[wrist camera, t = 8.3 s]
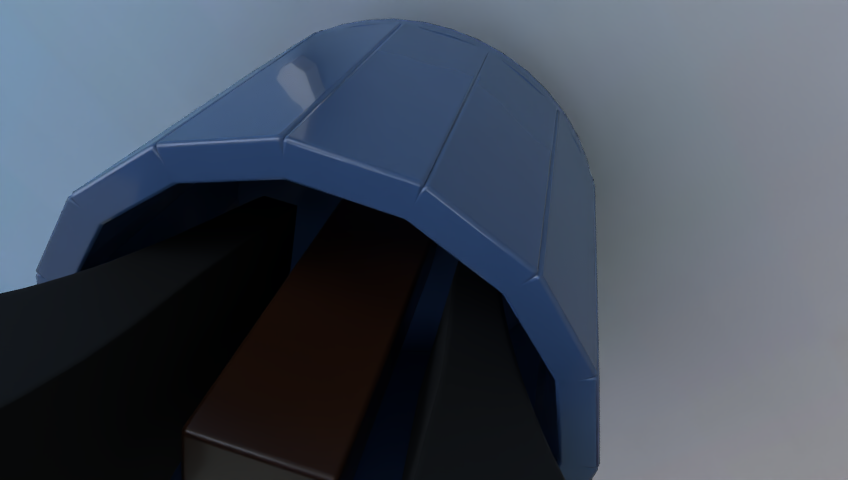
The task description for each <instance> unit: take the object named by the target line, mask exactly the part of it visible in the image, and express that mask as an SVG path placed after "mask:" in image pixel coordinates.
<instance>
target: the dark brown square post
mask: <svg viewBox="0 0 848 480" xmlns="http://www.w3.org/2000/svg"><path fill="white" fill-rule="evenodd" d="M436 247H437V243H435V242H434V241H433V240H431V239H430V238H429V237H427V236H426V235H425V234H423V233H422V232H421V231H420V230H418V229H417V228H416V227H414V226H413V225H412V224H410V223H409V222H408V221H406V220H405V219H402V218H399V217H396V216H393V215H390V214H387V213H384V212H381V211H378V210H375V209H372V208H369V207H366V206H363V205H360V204H357V203H354V202H351V201H348V200H345V199H342V200H341V201H340V202H339V204H338V205H337V207H336V208H335V210H334V211H333V212H332V214H331V215H330V217H329V218H328V220H327V221H326V223H325V224H324V225H323V227H322V228H321V230H320V231H319V233H318V234H317V235H316V237H315V238H314V240H313V241H312V243H311V244H310V245H309V247H308V248H307V250H306V251H305V253H304V254H303V256H302V257H301V258H300V260H299V261H298V263H297V264H296V266H295V267H294V268H293V270H292V271H291V273H290V274H289V276H288V277H287V279H286V280H285V281H284V283H283V284H282V286H281V287H280V289H279V290H278V291H277V293H276V294H275V296H274V297H273V299H272V300H271V302H270V303H269V304H268V306H267V307H266V309H265V310H264V312H263V313H262V314H261V316H260V317H259V319H258V320H257V322H256V323H255V325H254V326H253V327H252V329H251V330H250V332H249V333H248V335H247V336H246V337H245V339H244V340H243V342H242V343H241V345H240V346H239V347H238V349H237V350H236V352H235V353H234V355H233V356H232V358H231V359H230V360H229V362H228V363H227V365H226V366H225V368H224V369H223V370H222V372H221V373H220V375H219V376H218V378H217V379H216V381H215V382H214V383H213V385H212V386H211V388H210V389H209V391H208V392H207V393H206V395H205V396H204V398H203V399H202V401H201V402H200V404H199V405H198V406H197V408H196V409H195V411H194V412H193V414H192V415H191V416H190V418H189V419H188V421H187V422H186V424H185V425H184V426H183V428H182V430H181V477H182V480H353V478H354V475H355V472H356V470H357V467H358V464H359V462H360V459H361V456H362V453H363V451H364V448H365V445H366V443H367V440H368V437H369V435H370V432H371V429H372V426H373V424H374V421H375V418H376V416H377V413H378V410H379V408H380V405H381V402H382V399H383V397H384V394H385V391H386V389H387V386H388V383H389V380H390V378H391V375H392V372H393V370H394V367H395V364H396V362H397V359H398V356H399V353H400V351H401V348H402V345H403V343H404V340H405V337H406V335H407V332H408V329H409V326H410V324H411V321H412V318H413V316H414V313H415V310H416V308H417V305H418V302H419V299H420V297H421V294H422V291H423V289H424V286H425V283H426V280H427V278H428V275H429V272H430V270H431V266H432V262H433V258H434V255H435V251H436Z"/></svg>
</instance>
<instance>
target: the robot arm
mask: <svg viewBox="0 0 848 480" xmlns="http://www.w3.org/2000/svg"><path fill="white" fill-rule="evenodd" d="M296 215H297V205H294V204H290V203H287V202H284V201H280V200H277V199H274V198H270V197H267V196H262V197H259V198H257V199H254V200H252V201H250V202H248V203H245V204H243V205H241V206H239V207H237V208H235V209H232V210H230V211H228V212H226V213H224V214H222V215H219V216H217V217H215V218H213V219H211V220H209V221H206V222H204V223H202V224H200V225H197V226H195V227H193V228H191V229H188V230H186V231H184V232H182V233H179V234H177V235H175V236H173V237H170V238H168V239H166V240H163V241H161V242H158V243H156V244H153V245H151V246H148V247H145V248H143V249H140V250H138V251H135V252H133V253H130V254H127V255H125V256H122V257H120V258H117V259H115V260H112V261H110V262H107V263H104V264H101V265H98V266H95V267H93V268H89V269H86V270H83V271H80V272H77V273H74V274H71V275H68V276H64V277H61V278H57V279H54V280H51V281H47V282H44V283H41V284H37V285H34V286H30V287H26V288H23V289H18V290H14V291H10V292H6V293H1V294H0V480H170V479H171V477H172V475H173V473H174V472H175V470H176V468H177V467H178V465H179V463H180V462H181V430H182V428H183V426H184V425H185V424H186V422H187V421H188V419H189V418H190V416H191V415H192V414H193V412H194V411H195V409H196V408H197V406H198V405H199V404H200V402H201V401H202V399H203V398H204V396H205V395H206V393H207V392H208V391H209V389H210V388H211V386H212V385H213V383H214V382H215V381H216V379H217V378H218V376H219V375H220V373H221V372H222V370H223V369H224V368H225V366H226V365H227V363H228V362H229V360H230V359H231V358H232V356H233V355H234V353H235V352H236V350H237V349H238V347H239V346H240V345H241V343H242V342H243V340H244V339H245V337H246V336H247V335H248V333H249V332H250V330H251V329H252V327H253V326H254V325H255V323H256V322H257V320H258V319H259V317H260V316H261V314H262V313H263V312H264V310H265V309H266V307H267V306H268V304H269V303H270V302H271V300H272V299H273V297H274V296H275V294H276V293H277V291H278V290H279V289H280V287H281V286H282V284H283V283H284V281H285V280H286V279H287V277H288V276H289V274H290V269H291V260H292V251H293V242H294V233H295V224H296ZM402 480H565V478H564V476H563V474H562V472H561V470H560V468H559V466H558V464H557V462H556V460H555V458H554V456H553V454H552V452H551V449H550V447H549V445H548V443H547V441H546V438H545V436H544V434H543V432H542V429H541V427H540V425H539V422H538V420H537V417H536V415H535V412H534V410H533V407H532V404H531V402H530V399H529V396H528V393H527V390H526V388H525V385H524V382H523V379H522V376H521V373H520V370H519V366H518V363H517V360H516V356H515V353H514V349H513V345H512V342H511V338H510V334H509V330H508V326H507V322H506V317H505V312H504V307H503V301H502V294H501V292H499V291H498V290H497V289H495V288H494V287H493V286H491V285H490V284H489V283H487V282H486V281H485V280H484V279H482V278H481V277H480V276H478V275H477V274H476V273H474V272H473V271H472V270H471V269H469V268H468V267H467V266H465V265H464V264H463V263H461V262H460V261H458V264H457V267H456V270H455V274H454V277H453V280H452V283H451V287H450V290H449V294H448V297H447V300H446V304H445V307H444V310H443V314H442V317H441V320H440V324H439V327H438V330H437V334H436V337H435V341H434V344H433V347H432V351H431V354H430V357H429V361H428V364H427V367H426V371H425V374H424V377H423V381H422V384H421V388H420V391H419V395H418V400H417V405H416V410H415V415H414V420H413V425H412V430H411V435H410V440H409V445H408V451H407V456H406V461H405V466H404V471H403V476H402Z"/></svg>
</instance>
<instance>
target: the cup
mask: <svg viewBox="0 0 848 480" xmlns="http://www.w3.org/2000/svg"><path fill="white" fill-rule="evenodd" d="M262 196H267V197H270V198H274V199H277V200H280V201H284V202H287V203H290V204H294V205H297V215H296V224H295V233H294V242H293V251H292V260H291V269H290V273H291V271H292V270H293V268H294V267H295V266H296V264H297V263H298V261H299V260H300V258H301V257H302V256H303V254H304V253H305V251H306V250H307V248H308V247H309V245H310V244H311V243H312V241H313V240H314V238H315V237H316V235H317V234H318V233H319V231H320V230H321V228H322V227H323V225H324V224H325V223H326V221H327V220H328V218H329V217H330V215H331V214H332V212H333V211H334V210H335V208H336V207H337V205H338V204H339V202H340V201H341V200H342V199H345V200H348V201H351V202H354V203H357V204H360V205H363V206H366V207H369V208H372V209H375V210H378V211H381V212H384V213H387V214H390V215H393V216H396V217H399V218H402V219H405V220H406V221H408V222H409V223H410V224H412V225H413V226H414V227H416V228H417V229H418V230H420V231H421V232H422V233H423V234H425V235H426V236H427V237H429V238H430V239H431V240H433V241H434V242H435V243H437V247H436V251H435V255H434V258H433V262H432V266H431V270H430V272H429V275H428V278H427V280H426V283H425V286H424V289H423V291H422V294H421V297H420V299H419V302H418V305H417V308H416V310H415V313H414V316H413V318H412V321H411V324H410V326H409V329H408V332H407V335H406V337H405V340H404V343H403V345H402V348H401V351H400V353H399V356H398V359H397V362H396V364H395V367H394V370H393V372H392V375H391V378H390V380H389V383H388V386H387V389H386V391H385V394H384V397H383V399H382V402H381V405H380V408H379V410H378V413H377V416H376V418H375V421H374V424H373V426H372V429H371V432H370V435H369V437H368V440H367V443H366V445H365V448H364V451H363V453H362V456H361V459H360V462H359V464H358V467H357V470H356V472H355V475H354V478H353V480H402V476H403V471H404V466H405V461H406V456H407V451H408V445H409V440H410V435H411V430H412V425H413V420H414V415H415V410H416V405H417V400H418V395H419V391H420V388H421V384H422V381H423V377H424V374H425V371H426V367H427V364H428V361H429V357H430V354H431V351H432V347H433V344H434V341H435V337H436V334H437V330H438V327H439V324H440V320H441V317H442V314H443V310H444V307H445V304H446V300H447V297H448V294H449V290H450V287H451V283H452V280H453V277H454V274H455V270H456V267H457V264H458V261H460V262H461V263H463V264H464V265H465V266H467V267H468V268H469V269H471V270H472V271H473V272H474V273H476V274H477V275H478V276H480V277H481V278H482V279H484V280H485V281H486V282H487V283H489V284H490V285H491V286H493V287H494V288H495V289H497V290H498V291H499V292H501V294H502V301H503V307H504V312H505V317H506V322H507V326H508V330H509V334H510V338H511V342H512V345H513V349H514V353H515V356H516V360H517V363H518V366H519V370H520V373H521V376H522V379H523V382H524V385H525V388H526V390H527V393H528V396H529V399H530V402H531V404H532V407H533V410H534V412H535V415H536V417H537V420H538V422H539V425H540V427H541V429H542V432H543V434H544V436H545V438H546V441H547V443H548V445H549V447H550V449H551V452H552V454H553V456H554V458H555V460H556V462H557V464H558V466H559V468H560V470H561V472H562V474H563V476H564V478H565V480H591V479H592V478H593V476H594V475H595V473H596V472H597V470H598V466H599V464H600V377H599V333H598V289H597V245H596V201H595V184H594V179H593V177H592V175H591V173H590V168H589V164H588V160H587V157H586V155H585V152H584V150H583V147H582V145H581V142H580V140H579V137H578V135H577V133H576V132H575V130H574V128H573V126H572V125H571V123H570V121H569V120H568V118H567V116H566V114H565V113H564V111H563V110H562V109H561V107H560V106H559V105H558V104H557V102H556V101H555V100H554V99H553V97H552V96H551V95H550V93H549V92H548V91H547V90H546V89H545V88H544V87H543V86H542V85H541V84H540V83H539V82H538V81H537V80H536V79H535V78H534V77H533V76H532V75H531V74H530V73H529V72H528V71H527V70H525V69H524V68H523V67H521V66H520V65H518V64H517V63H516V62H514V61H513V60H512V59H510V58H509V57H508V56H506V55H505V54H504V53H502V52H500V51H498V50H496V49H495V48H493V47H491V46H489V45H487V44H486V43H484V42H482V41H480V40H478V39H476V38H473V37H471V36H468V35H466V34H463V33H461V32H458V31H456V30H453V29H450V28H446V27H442V26H438V25H434V24H430V23H426V22H420V21H410V20H401V19H377V20H364V21H358V22H353V23H347V24H341V25H338V26H335V27H333V28H330V29H327V30H321V31H319V32H316V33H313V34H311V35H310V36H308V37H307V38H305V39H303V40H302V41H300V42H298V43H296V44H295V45H293V46H292V47H290V48H289V49H287V50H286V51H284V52H283V53H281V54H279V55H278V56H276V57H275V58H273V59H271V60H270V61H268V62H267V63H265V64H263V65H262V66H260V67H259V68H257V69H255V70H254V71H252V72H251V73H249V74H248V75H246V76H245V77H244V78H242V79H241V80H239V81H238V82H236V83H235V84H233V85H232V86H230V87H229V88H227V89H226V90H224V91H223V92H221V93H220V94H218V95H217V96H215V97H214V98H212V99H211V100H209V101H208V102H206V103H205V104H203V105H202V106H200V107H199V108H197V109H196V110H194V111H193V112H191V113H190V114H188V115H187V116H185V117H184V118H182V119H181V120H179V121H178V122H176V123H175V124H173V125H172V126H171V127H169V128H168V129H166V130H165V131H163V132H162V133H160V134H159V135H157V136H156V137H154V138H153V139H151V140H150V141H148V142H147V143H145V144H144V145H142V146H141V147H139V148H138V149H136V150H135V151H133V152H132V153H130V154H129V155H127V156H126V157H124V158H123V159H121V160H120V161H118V162H117V163H115V164H114V165H112V166H111V167H109V168H108V169H106V170H105V171H103V172H102V173H100V174H99V175H98V176H96V177H95V178H93V179H92V180H90V181H89V182H87V183H86V184H84V185H83V186H81V187H80V188H78V189H77V190H75V191H74V192H73V193H72V195H71V196H69V197H68V199H67V201H66V203H65V205H64V208H63V210H62V212H61V215H60V217H59V219H58V221H57V224H56V226H55V228H54V231H53V233H52V235H51V237H50V240H49V242H48V244H47V247H46V249H45V251H44V254H43V256H42V258H41V260H40V263H39V265H38V267H37V270H36V272H37V274H36V280H37V284H41V283H44V282H47V281H51V280H54V279H57V278H61V277H64V276H68V275H71V274H74V273H77V272H80V271H83V270H86V269H89V268H93V267H95V266H98V265H101V264H104V263H107V262H110V261H112V260H115V259H117V258H120V257H122V256H125V255H127V254H130V253H133V252H135V251H138V250H140V249H143V248H145V247H148V246H151V245H153V244H156V243H158V242H161V241H163V240H166V239H168V238H170V237H173V236H175V235H177V234H179V233H182V232H184V231H186V230H188V229H191V228H193V227H195V226H197V225H200V224H202V223H204V222H206V221H209V220H211V219H213V218H215V217H217V216H219V215H222V214H224V213H226V212H228V211H230V210H232V209H235V208H237V207H239V206H241V205H243V204H245V203H248V202H250V201H252V200H254V199H257V198H259V197H262ZM170 480H182V477H181V462H180V463H179V465H178V467H177V468H176V470H175V472H174V473H173V475H172V477H171V479H170Z"/></svg>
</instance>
